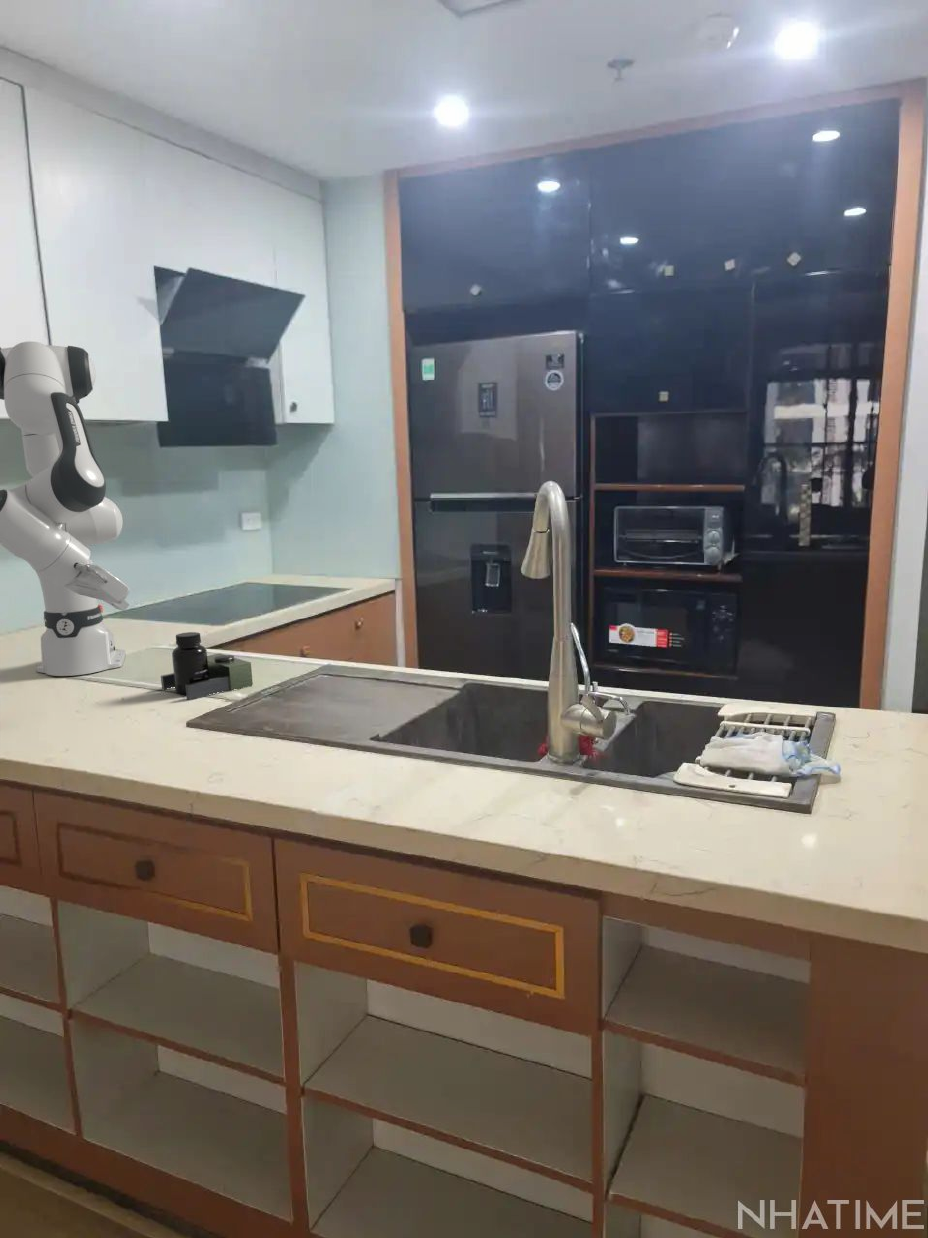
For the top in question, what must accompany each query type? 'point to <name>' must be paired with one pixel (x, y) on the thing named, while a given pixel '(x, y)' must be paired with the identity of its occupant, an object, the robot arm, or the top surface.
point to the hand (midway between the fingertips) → (124, 607)
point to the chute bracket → (216, 677)
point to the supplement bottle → (189, 661)
